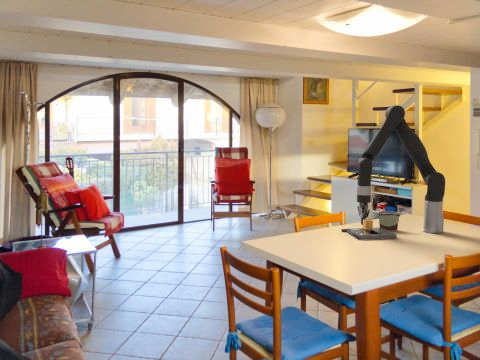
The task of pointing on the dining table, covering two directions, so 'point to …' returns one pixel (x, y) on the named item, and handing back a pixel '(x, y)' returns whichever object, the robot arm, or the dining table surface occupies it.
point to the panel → (373, 234)
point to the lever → (367, 225)
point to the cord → (352, 234)
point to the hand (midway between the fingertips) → (363, 224)
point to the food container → (389, 220)
